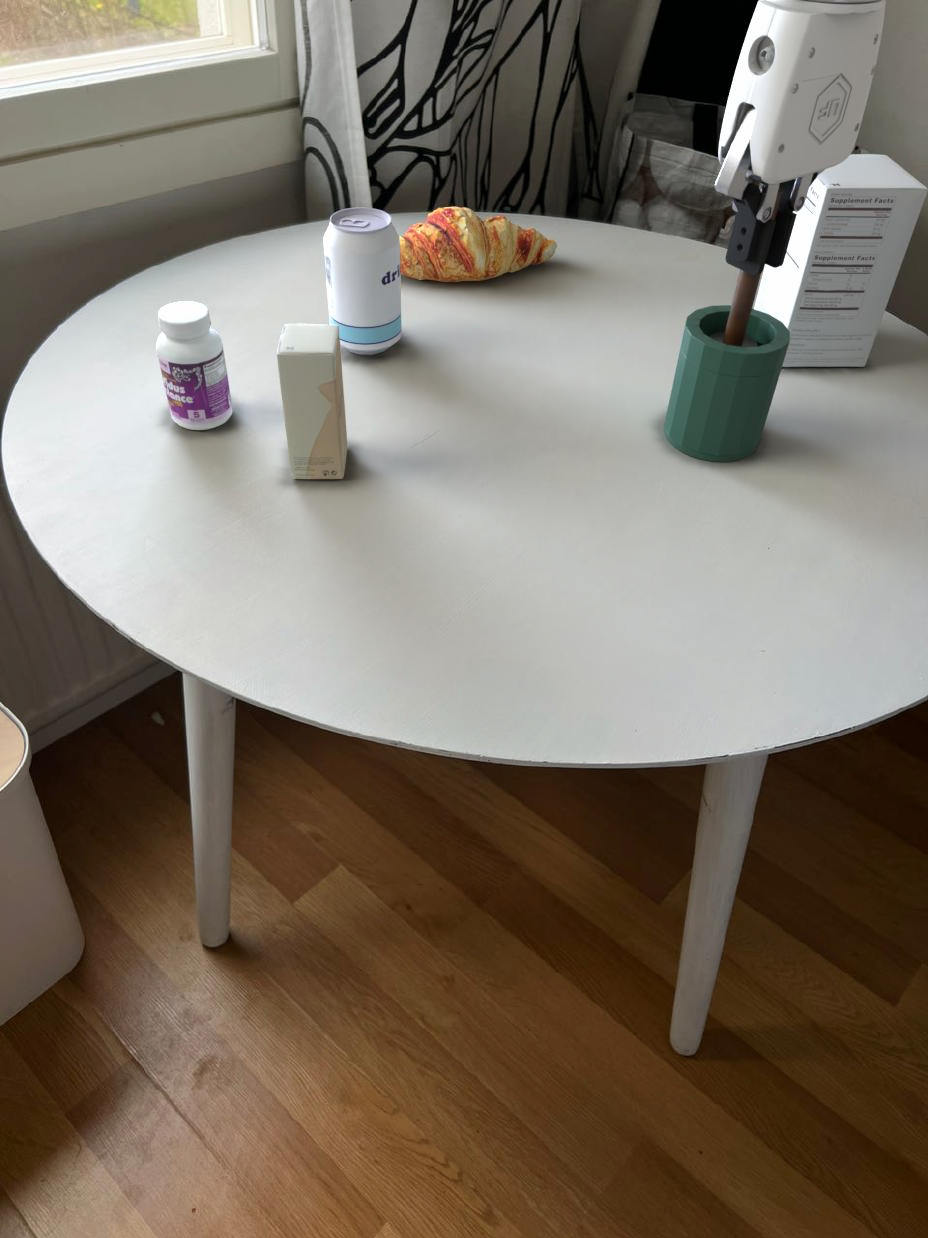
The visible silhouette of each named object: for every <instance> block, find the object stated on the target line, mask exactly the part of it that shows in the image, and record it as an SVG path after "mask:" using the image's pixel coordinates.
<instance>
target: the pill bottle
mask: <svg viewBox="0 0 928 1238" xmlns="http://www.w3.org/2000/svg"><path fill="white" fill-rule="evenodd" d="M157 318H158V325H159V329H160V330H161V333H160V334H159V336H157V339H156V343H155V349H156V354H157V359H158V364H159V367H160V373H161V378H162V382H163V386H164V391H165V395H166V399H167V405H168V408H169V412H170V417H171V419H172V421H173V422H174V423H175V424H176V425H179V427H182V428H184V429H188V430H192V431H205V430H206V431H207V430H211V429H214V428H215V429H216V428H217V427H220V426H221V425H223V424H225V423H226V422H227V421H229V420H230V418H231V416H232V415H233V411H234V408H233V401H232V395H231V388H230V381H229V375H228V370H227V364H226V356H225V351H224V345H223V339H222V338H221V336H220V334H219V333H218V332H217V331H216V330H215V329H213V328H212V327H211V326H212V321H211V316H210V311H209V309H208V307H207V306H206V305H205V304H202V303H201V302H197V301H191V300H180V301H174V302H170V303H168V304H165V305H164V306H161V307H160V309H159V310H158V312H157Z"/></svg>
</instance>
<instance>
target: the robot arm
mask: <svg viewBox="0 0 928 1238" xmlns="http://www.w3.org/2000/svg"><path fill="white" fill-rule="evenodd" d="M886 3H887V0H758V1H757V4H756V7H755V9H754V12H753V15H752V18H751V20H750V23H749V26H748V29H747V32H746V35H745V37H744V42H743V44H742V47H741V50H740V54H739V58H738V60H737V64H736V68H735V71H734V75H733V77H732V78H733V79H732V82H731V87H730V90H729V93H728V94H729V95H728V97H727V103H726V106H725V111H724V115H723V120H722V124H721V130H720V135H719V141H718V152H717V153H718V162H719V164H720V165H721V169H720V172H719V173H718V176H717V178H716V180H715V184H714V190H715V191H716V192H719V193H720V194H723V195H725V196H727V197H730V198H731V200H732V206H731V207H732V210H733V211H734V212H735V214H734V219H733V223H732V228H731V231H730V236H729V240H728V245H727V248H726V249H727V250H726V254H725V258H724V259H725V262H726V263H727V265H730V266H733V267H734V268H736V269H739V270H740V269H741V270H743V271H745V272H747V273H749V274H751V275H754V276H755V275H758V274H761V275H762V274H763V271H764V267H765V264H767V265H769V266H771V267H773V268H777V267H780V266H782V265H783V263H784V259H785V255H786V252H787V248H788V245H789V241H790V237H791V234H792V230H793V226H794V223H795V219H796V216H797V214H795V213H793V211H795V212H798V211H800V210H801V209H802V207H803V206H804V203H805V200H806V197H807V194H808V190H809V187H810V186H811V185H812V183H813V182H814V180H815V179H816V178H817V176H818V175H819V174H820V173H822V172H823V171H824V170H825V169H828V168H830V167H833V166H836V165H838V164H840V163H841V162H843V161H844V160H846V159H847V158H848V157H849V156H850V154H853V150H854V148H855V145H856V142H857V139H858V136H859V133H860V128H861V125H862V121H863V118H864V114H865V111H866V107H867V103H868V99H869V95H870V91H871V86H872V83H873V79H874V75H875V70H876V65H877V61H878V58H879V57H878V56H879V51H880V46H881V41H882V35H883V28H884V22H885V13H886ZM754 182H757V183H759V184H761V185H763V187H762V192H761V191H760V186H759V185H758V184H755V183H754ZM779 187H781V188H782V189H783V192H782V196H781V200H780V204H779V208H778V211H777V215H776V219H775V221H774V220H772V219H770V218H771V216H772V213H773V210H774V206H775V201H776V197H777V193H778V189H779Z"/></svg>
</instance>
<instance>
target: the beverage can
mask: <svg viewBox="0 0 928 1238" xmlns="http://www.w3.org/2000/svg"><path fill="white" fill-rule="evenodd" d="M399 236H400V234H399V233H398V231H397V229H396V227H395V226H394V224H393V219H392V216H391V215H390V214H389V213H388V212H386V211H384V210H381V209H377V208H373V207H361V206H358V207H349V208H344V209H340V210H338V211H336V212H334V213H332V214H331V215H330V217H329V225H328V226H327V229H326V231H325V233H324V235H323V241H322V242H323V253H324V265H325V266H324V267H325V277H326V278H325V280H326V293H327V305H328V318H329V324H333V325H339V335H340V347H342V348H344V350H346V351H348V352H349V353H351V354H355V355H361V356H370V355H371V356H373V355H376V354H380V353H383V352H385V351H387V350H389V349H390V347H391V346H393V345H395V344H397V342H399V340H400V339H401V337H402V285H401V284H402V282H401V273H400V238H399Z"/></svg>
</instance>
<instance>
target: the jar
mask: <svg viewBox="0 0 928 1238" xmlns="http://www.w3.org/2000/svg"><path fill="white" fill-rule="evenodd" d="M730 309H731V305H730V304H726V305H725V304H724V305H723V304H721V305H709V306H706V307H702V308H698V309H695V310H694V311H693V312H691V313H690V314H689V315H688V316H686V319H685V324H684V329H683V333H682V339H681V343H680V348H679V353H678V358H677V364H676V368H675V372H674V376H673V381H672V387H671V391H670V396H669V400H668V405H667V410H666V415H665V419H664V424H663V434H664V436H665V439H666V440H667V441H668V443H669V444H670V445H671V446H672V447H674V448H675V449H677V450H678V451H680V452H681V453H683V454H685V455H687V456H690V457H693V458H696V459H699V460H704V461H709V462H719V463H721V462H724V463H725V462H735V461H739V460H743V459H745V458H747V457H749V456H751V455H752V454H753V453H755V451H756V450H757V448H758V446H759V443H760V442H761V438H762V435H763V432H764V428H765V425H766V423H767V419H768V416H769V412H770V409H771V406H772V401H773V398H774V395H775V392H776V388H777V386H778V382H779V378H780V375H781V371H782V369H783V367H782V365H783V362H784V359H785V355H786V352H787V349H788V345H789V342H790V332H789V330H788V329H787V328H786V326H785V325H784V324H783V323H782V322H781V321H779V320H778V319H776V318H774V317H773V316H771V315H769V314H767V313H764V312H761V311H758V310H755V309H754V308H752V311H751V314H750V318H749V322H748V326H747V330H746V333H745V334H746V335H748V336H750V337H752V338H753V339H754V340H755V341H756V342H757V345H758V347H739V346H732V345H726V344H724V343H721V342H718V341H715V340H713V339H711V338H710V337H709V336H710V335H711V334H713V333H715V332H719V331H725V330H726V326H727V322H728V318H729V313H730Z"/></svg>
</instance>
